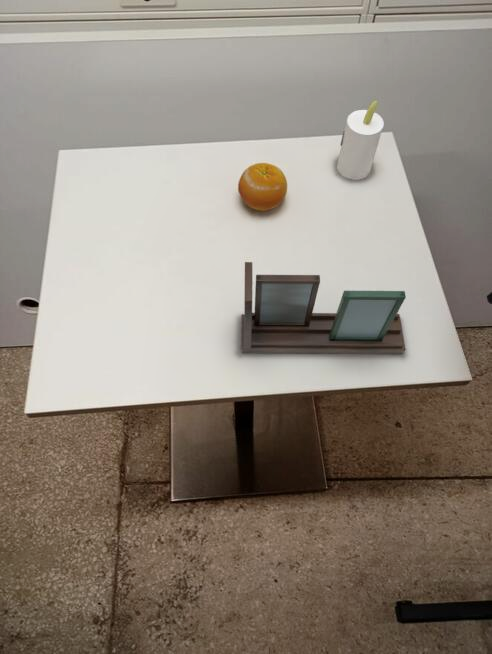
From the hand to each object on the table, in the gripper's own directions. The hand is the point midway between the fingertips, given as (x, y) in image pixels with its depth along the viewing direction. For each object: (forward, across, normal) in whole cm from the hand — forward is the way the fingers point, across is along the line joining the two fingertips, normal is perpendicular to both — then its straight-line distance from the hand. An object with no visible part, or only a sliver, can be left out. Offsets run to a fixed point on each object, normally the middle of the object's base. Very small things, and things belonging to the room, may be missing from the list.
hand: (488, 300), depth 66 cm
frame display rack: (+24, -1, -5) cm, 24 cm away
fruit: (+30, -29, -11) cm, 44 cm away
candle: (+18, -38, +1) cm, 42 cm away
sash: (+19, 0, -3) cm, 19 cm away
